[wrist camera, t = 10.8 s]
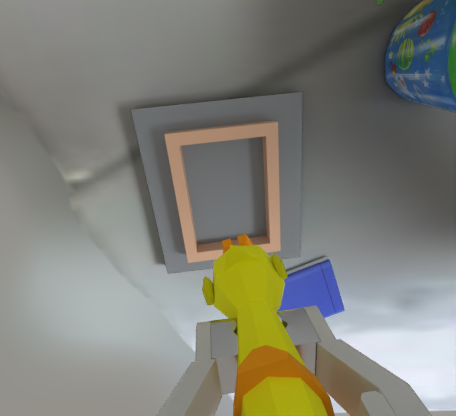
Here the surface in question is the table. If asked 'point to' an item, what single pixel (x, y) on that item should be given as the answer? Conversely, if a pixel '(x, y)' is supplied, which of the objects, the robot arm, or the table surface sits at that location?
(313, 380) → the toy figure
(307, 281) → the hard drive
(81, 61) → the table surface
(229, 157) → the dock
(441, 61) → the snack cup
